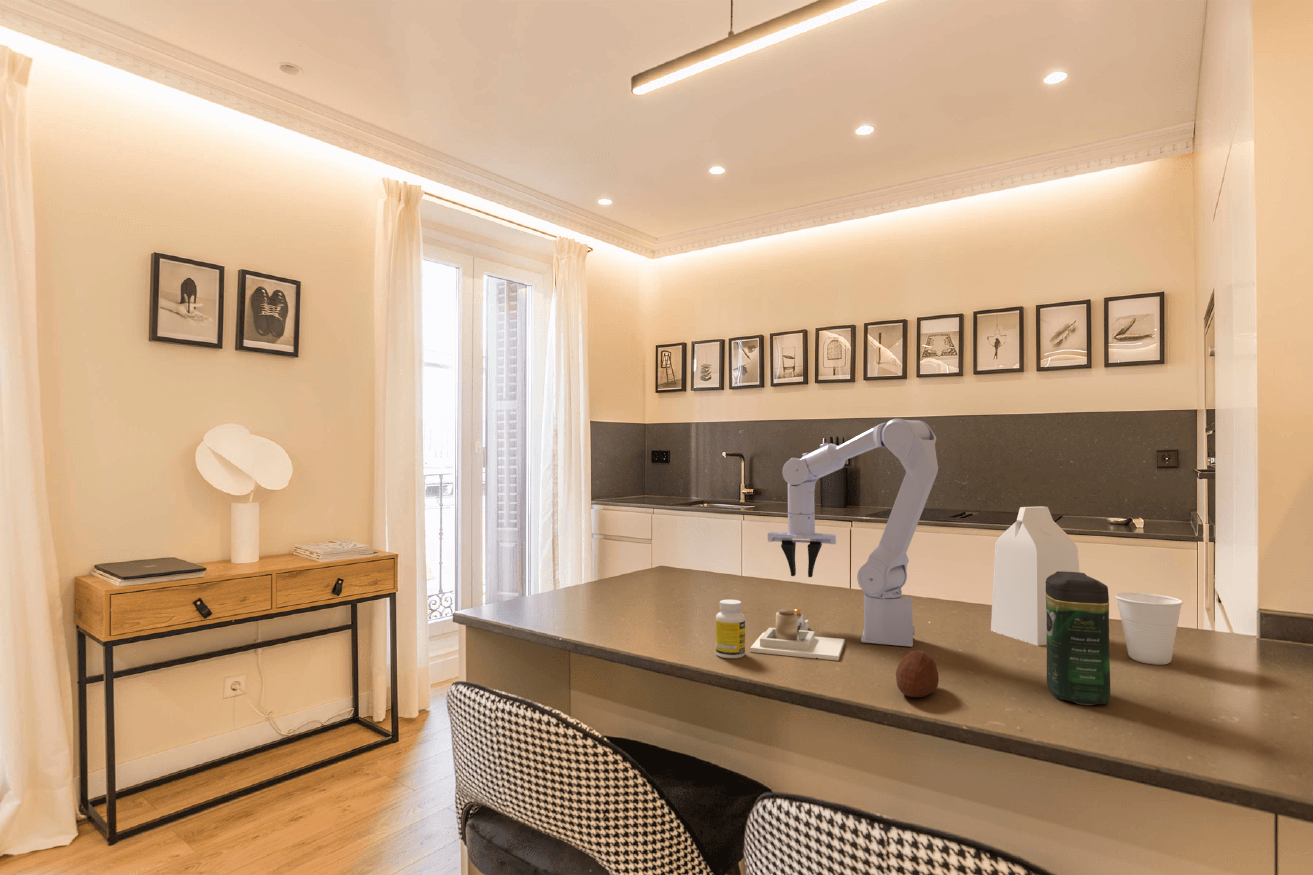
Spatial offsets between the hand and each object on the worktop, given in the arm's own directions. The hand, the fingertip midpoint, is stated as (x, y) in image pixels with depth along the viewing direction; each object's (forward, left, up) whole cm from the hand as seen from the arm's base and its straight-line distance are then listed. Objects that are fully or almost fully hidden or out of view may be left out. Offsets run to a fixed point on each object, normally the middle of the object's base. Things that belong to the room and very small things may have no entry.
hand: (801, 575), depth 149 cm
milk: (-46, -6, -11) cm, 48 cm away
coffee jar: (-46, +30, -11) cm, 56 cm away
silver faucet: (0, +9, -10) cm, 14 cm away
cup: (-62, +6, -11) cm, 63 cm away
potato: (-23, +38, -11) cm, 45 cm away
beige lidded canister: (0, +19, -10) cm, 22 cm away
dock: (-2, +14, -10) cm, 17 cm away
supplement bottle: (+9, +28, -11) cm, 31 cm away
